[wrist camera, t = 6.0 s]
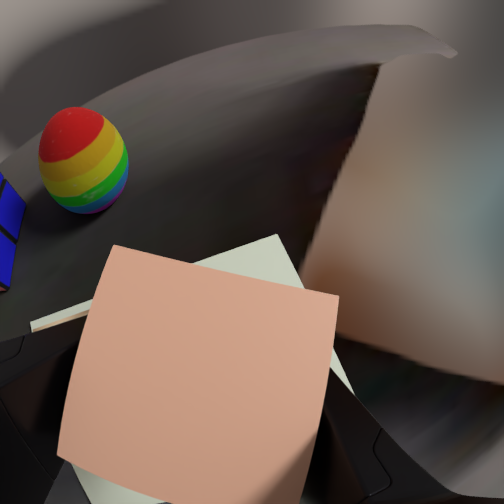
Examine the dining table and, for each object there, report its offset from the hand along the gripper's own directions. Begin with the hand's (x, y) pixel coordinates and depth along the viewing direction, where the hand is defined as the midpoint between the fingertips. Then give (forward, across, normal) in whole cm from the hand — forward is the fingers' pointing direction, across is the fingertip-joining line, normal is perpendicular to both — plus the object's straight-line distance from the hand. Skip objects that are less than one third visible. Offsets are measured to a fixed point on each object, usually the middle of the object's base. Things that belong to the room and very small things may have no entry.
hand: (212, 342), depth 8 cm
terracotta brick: (+3, 0, +5) cm, 6 cm away
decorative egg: (+18, +16, +1) cm, 24 cm away
